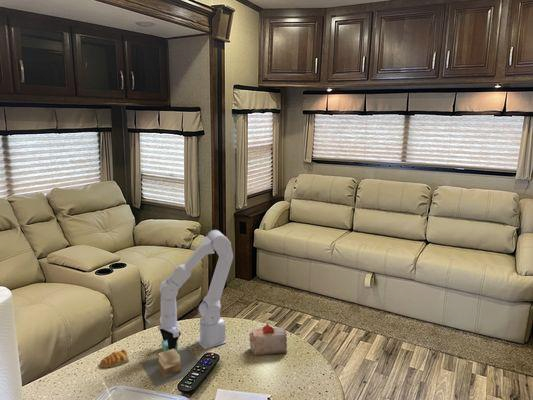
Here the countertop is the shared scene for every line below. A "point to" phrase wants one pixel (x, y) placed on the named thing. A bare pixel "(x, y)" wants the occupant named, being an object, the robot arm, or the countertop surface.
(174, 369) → the tower base
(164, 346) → the teal block
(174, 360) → the tower mid
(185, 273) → the robot arm
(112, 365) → the pastry
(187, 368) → the mat
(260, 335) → the food item
